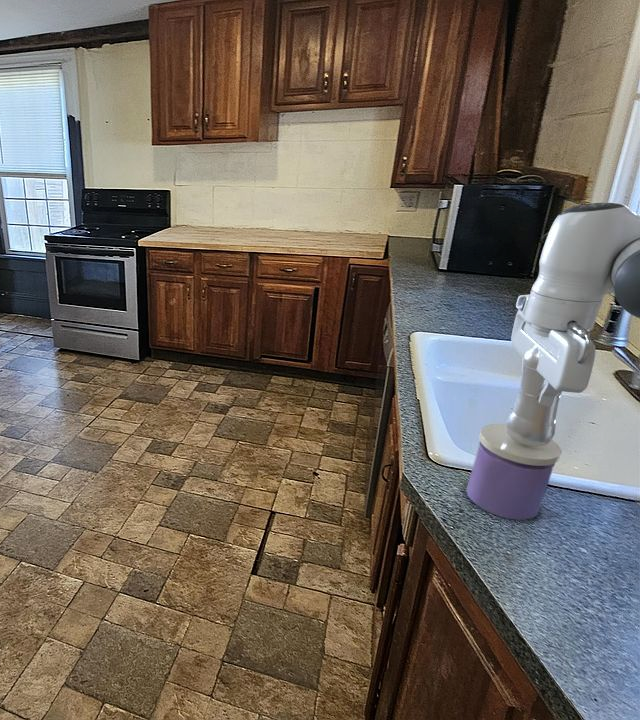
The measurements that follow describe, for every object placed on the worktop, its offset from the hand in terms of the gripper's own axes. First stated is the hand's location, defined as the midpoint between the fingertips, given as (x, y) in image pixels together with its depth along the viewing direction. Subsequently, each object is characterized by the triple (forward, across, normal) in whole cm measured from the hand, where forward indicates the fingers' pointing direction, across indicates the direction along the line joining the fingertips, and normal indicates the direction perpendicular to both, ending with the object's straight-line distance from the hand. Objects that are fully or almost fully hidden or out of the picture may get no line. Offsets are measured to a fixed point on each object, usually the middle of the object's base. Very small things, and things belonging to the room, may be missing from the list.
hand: (534, 393), depth 86 cm
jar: (+21, 0, 0) cm, 21 cm away
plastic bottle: (+9, -1, -1) cm, 9 cm away
